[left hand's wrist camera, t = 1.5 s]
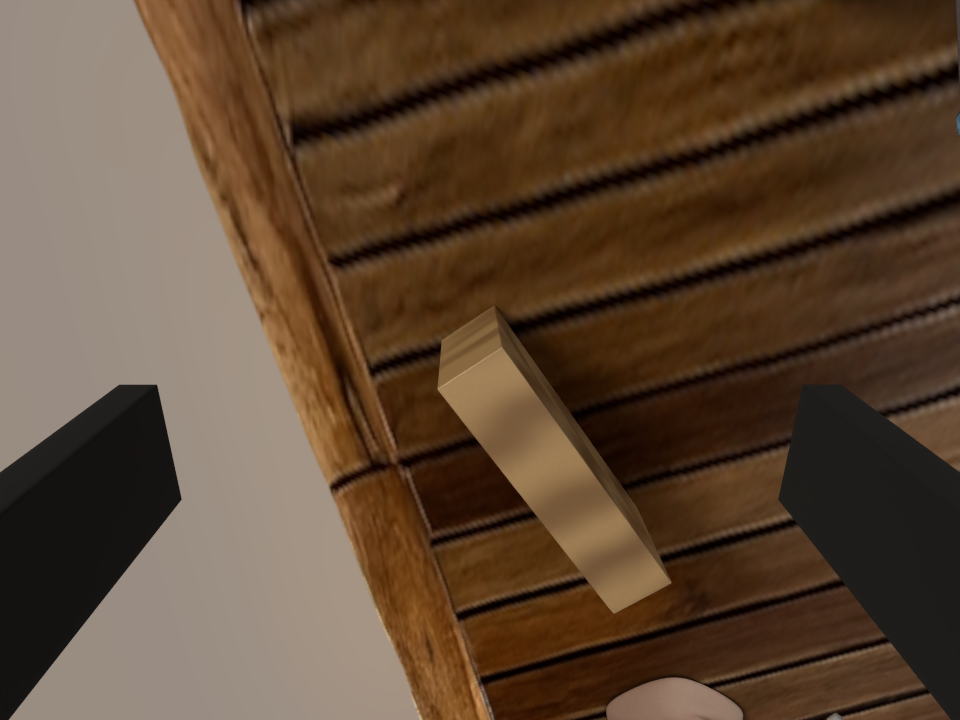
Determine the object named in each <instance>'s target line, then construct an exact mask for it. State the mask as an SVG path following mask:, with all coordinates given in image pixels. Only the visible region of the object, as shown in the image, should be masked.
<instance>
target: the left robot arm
mask: <svg viewBox="0 0 960 720" xmlns="http://www.w3.org/2000/svg"><path fill="white" fill-rule="evenodd" d="M956 18H957V41H958V64H959V87H960V0H956ZM957 131H958V135H959V137H960V112H959V114H958V115H957ZM778 500H779V501H780V502H781V503H782V505H783V506H784V507H785V508H786V510H787V511H788V512H789V514H790V515H791V516H792V517H793V519H794V520H795V521H796V522H797V524H798V525H799V526H800V528H801V529H802V530H803V531H804V533H805V534H806V535H807V537H808V538H809V539H810V540H811V542H812V543H813V544H814V545H815V547H816V548H817V549H818V551H819V552H820V553H821V554H822V556H823V557H824V558H825V559H826V561H827V562H828V563H829V565H830V566H831V567H832V568H833V570H834V571H835V572H836V573H837V575H838V576H839V577H840V579H841V580H842V581H843V582H844V584H845V585H846V586H847V587H848V589H849V590H850V591H851V593H852V594H853V595H854V596H855V598H856V599H857V600H858V601H859V603H860V604H861V605H862V607H863V608H864V609H865V610H866V612H867V613H868V614H869V615H870V617H871V618H872V619H873V621H874V622H875V623H876V624H877V626H878V627H879V628H880V629H881V631H882V632H883V633H884V635H885V636H886V637H887V638H888V640H889V641H890V642H891V643H892V645H893V646H894V647H895V649H896V650H897V651H898V652H899V654H900V655H901V656H902V658H903V659H904V660H905V661H906V663H907V664H908V665H909V666H910V668H911V669H912V670H913V672H914V673H915V674H916V675H917V677H918V678H919V679H920V680H921V682H922V683H923V684H924V686H925V687H926V688H927V689H928V691H929V692H930V693H931V694H932V696H933V697H934V698H935V700H936V701H937V702H938V703H939V705H940V706H941V707H942V708H943V710H944V711H945V712H946V714H947V715H948V716H949V717H950V719H951V720H960V472H959V471H957V470H956V469H954V468H953V467H952V466H950V465H949V464H948V463H946V462H945V461H944V460H942V459H941V458H939V457H938V456H937V455H935V454H934V453H933V452H931V451H930V450H929V449H927V448H926V447H925V446H923V445H922V444H920V443H919V442H918V441H916V440H915V439H914V438H912V437H911V436H910V435H908V434H907V433H906V432H904V431H903V430H901V429H900V428H899V427H897V426H896V425H895V424H893V423H892V422H891V421H889V420H888V419H886V418H885V417H884V416H882V415H881V414H880V413H878V412H877V411H876V410H874V409H873V408H872V407H870V406H869V405H867V404H866V403H865V402H863V401H862V400H861V399H859V398H858V397H857V396H855V395H854V394H853V393H851V392H850V391H848V390H847V389H846V388H844V387H843V386H842V385H803V387H802V392H801V396H800V401H799V406H798V410H797V415H796V420H795V424H794V429H793V434H792V438H791V443H790V448H789V452H788V457H787V462H786V466H785V471H784V476H783V480H782V485H781V490H780V494H779V499H778ZM180 501H181V494H180V490H179V485H178V480H177V476H176V471H175V466H174V462H173V457H172V452H171V448H170V443H169V439H168V434H167V429H166V424H165V420H164V415H163V411H162V406H161V401H160V396H159V392H158V387H157V385H118V386H117V387H116V388H114V389H113V390H112V391H110V392H109V393H108V394H106V395H105V396H103V397H102V398H101V399H99V400H98V401H97V402H95V403H94V404H93V405H91V406H90V407H88V408H87V409H86V410H84V411H83V412H82V413H80V414H79V415H78V416H76V417H75V418H74V419H72V420H71V421H69V422H68V423H67V424H65V425H64V426H63V427H61V428H60V429H59V430H57V431H56V432H54V433H53V434H52V435H51V436H49V437H48V438H46V439H45V440H44V441H42V442H41V443H40V444H38V445H37V446H35V447H34V448H33V449H31V450H30V451H29V452H27V453H26V454H25V455H23V456H22V457H21V458H19V459H18V460H16V461H15V462H14V463H12V464H11V465H10V466H8V467H7V468H6V469H4V470H3V471H1V472H0V720H9V719H10V717H11V716H12V715H13V714H14V712H15V711H16V710H17V708H18V707H19V706H20V705H21V703H22V702H23V701H24V700H25V698H26V697H27V696H28V694H29V693H30V692H31V691H32V689H33V688H34V687H35V685H36V684H37V683H38V682H39V680H40V679H41V678H42V677H43V675H44V674H45V673H46V671H47V670H48V669H49V668H50V666H51V665H52V664H53V663H54V661H55V660H56V659H57V658H58V656H59V655H60V654H61V652H62V651H63V650H64V649H65V647H66V646H67V645H68V643H69V642H70V641H71V640H72V638H73V637H74V636H75V635H76V633H77V632H78V631H79V629H80V628H81V627H82V626H83V624H84V623H85V622H86V621H87V619H88V618H89V617H90V615H91V614H92V613H93V612H94V610H95V609H96V608H97V606H98V605H99V604H100V603H101V601H102V600H103V599H104V598H105V596H106V595H107V594H108V592H109V591H110V590H111V589H112V587H113V586H114V585H115V584H116V582H117V581H118V580H119V579H120V577H121V576H122V575H123V573H124V572H125V571H126V570H127V568H128V567H129V566H130V565H131V563H132V562H133V561H134V559H135V558H136V557H137V556H138V554H139V553H140V552H141V550H142V549H143V548H144V547H145V545H146V544H147V543H148V542H149V540H150V539H151V538H152V537H153V535H154V534H155V533H156V531H157V530H158V529H159V528H160V526H161V525H162V524H163V522H164V521H165V520H166V519H167V517H168V516H169V515H170V514H171V512H172V511H173V510H174V508H175V507H176V506H177V505H178V503H179V502H180Z"/></svg>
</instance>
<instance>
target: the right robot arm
mask: <svg viewBox="0 0 960 720" xmlns="http://www.w3.org/2000/svg"><path fill="white" fill-rule="evenodd" d="M825 720H844V719H843V718H842V717H841V716H839V715H838V714H837V713H834V714H833V715H831V716H830V717H828V718H826V719H825Z"/></svg>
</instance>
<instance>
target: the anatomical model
mask: <svg viewBox="0 0 960 720" xmlns="http://www.w3.org/2000/svg"><path fill="white" fill-rule="evenodd" d="M606 714H607V718H608V720H743V713H742V711H741V709H740V708H739V707H738V706H737V705H736V704H735V703H734V702H732V701H731V700H730V699H728V698H727V697H725V696H723V695H722V694H720V693H718V692H717V691H715V690H713V689H711V688H709V687H707V686H705V685H702V684H700V683H698V682H695V681H692V680H689V679H685V678H677V677H671V678H663V679H658V680H655V681H651V682H648V683H645V684H643V685H640V686H638V687H635V688H633V689H631V690H629V691H627V692H625V693H623V694H621V695H620V696H618V697H616V698H615V699H614V700H612V701H611V702H610V703H609V705H608V706H607V710H606Z"/></svg>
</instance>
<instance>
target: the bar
mask: <svg viewBox="0 0 960 720" xmlns="http://www.w3.org/2000/svg"><path fill="white" fill-rule="evenodd" d="M438 391H439V392H440V393H441V394H442V396H443V397H444V398H445V399H446V401H447V402H448V403H449V405H450V406H451V407H452V408H453V410H454V411H455V412H456V413H457V415H458V416H459V417H460V419H461V420H462V421H463V422H464V424H465V425H466V426H467V428H468V429H469V430H470V431H471V433H472V434H473V435H474V436H475V438H476V439H477V440H478V442H479V443H480V444H481V445H482V447H483V448H484V449H485V450H486V452H487V453H488V454H489V456H490V457H491V458H492V459H493V461H494V462H495V463H496V464H497V466H498V467H499V468H500V470H501V471H502V472H503V473H504V475H505V476H506V477H507V479H508V480H509V481H510V482H511V484H512V485H513V486H514V487H515V489H516V490H517V491H518V493H519V494H520V495H521V496H522V498H523V499H524V500H525V501H526V503H527V504H528V505H529V507H530V508H531V509H532V510H533V512H534V513H535V514H536V515H537V517H538V518H539V519H540V521H541V522H542V523H543V524H544V526H545V527H546V528H547V530H548V531H549V532H550V533H551V535H552V536H553V537H554V538H555V540H556V541H557V542H558V544H559V545H560V546H561V547H562V549H563V550H564V551H565V552H566V554H567V555H568V556H569V558H570V559H571V560H572V561H573V563H574V564H575V565H576V566H577V568H578V569H579V570H580V572H581V573H582V574H583V575H584V577H585V578H586V579H587V581H588V582H589V583H590V584H591V586H592V587H593V588H594V589H595V591H596V592H597V593H598V595H599V596H600V597H601V598H602V600H603V601H604V602H605V603H606V605H607V606H608V607H609V609H610V610H611V611H612V612H613V613H614V614H615V613H616V612H618V611H620V610H622V609H624V608H626V607H628V606H630V605H631V604H633V603H635V602H637V601H639V600H641V599H643V598H645V597H646V596H648V595H650V594H652V593H654V592H656V591H658V590H660V589H661V588H663V587H665V586H667V585H669V584H671V580H670V578H669V576H668V574H667V571H666V569H665V567H664V565H663V563H662V561H661V559H660V556H659V554H658V552H657V550H656V548H655V546H654V543H653V541H652V539H651V537H650V535H649V533H648V530H647V528H646V526H645V524H644V522H643V520H642V517H641V515H640V513H639V511H638V509H637V507H636V506H635V504H634V503H633V501H632V500H631V498H630V497H629V496H628V494H627V493H626V491H625V490H624V488H623V487H622V486H621V484H620V483H619V481H618V480H617V479H616V477H615V476H614V474H613V473H612V471H611V470H610V469H609V467H608V466H607V464H606V463H605V462H604V460H603V459H602V457H601V456H600V454H599V453H598V452H597V450H596V449H595V447H594V446H593V445H592V443H591V442H590V440H589V439H588V437H587V436H586V435H585V433H584V432H583V430H582V429H581V427H580V426H579V425H578V423H577V422H576V420H575V419H574V418H573V416H572V415H571V413H570V412H569V410H568V409H567V408H566V406H565V405H564V403H563V402H562V401H561V399H560V398H559V396H558V395H557V393H556V392H555V391H554V389H553V388H552V386H551V385H550V383H549V382H548V381H547V379H546V378H545V376H544V375H543V374H542V372H541V371H540V369H539V368H538V366H537V365H536V364H535V362H534V361H533V359H532V358H531V357H530V355H529V354H528V352H527V351H526V349H525V348H524V347H523V345H522V344H521V342H520V341H519V339H518V338H517V337H516V335H515V334H514V332H513V331H512V330H511V328H510V327H509V325H508V324H507V322H506V321H505V320H504V318H503V317H502V315H501V314H500V313H499V311H498V310H497V308H496V307H495V306H492V307H491V308H489V309H488V310H486V311H485V312H483V313H482V314H480V315H479V316H477V317H476V318H474V319H473V320H471V321H470V322H468V323H467V324H465V325H464V326H462V327H461V328H459V329H458V330H456V331H455V332H453V333H452V334H450V335H449V336H447V337H446V338H444V339H443V340H442V345H441V356H440V368H439V379H438Z"/></svg>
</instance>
